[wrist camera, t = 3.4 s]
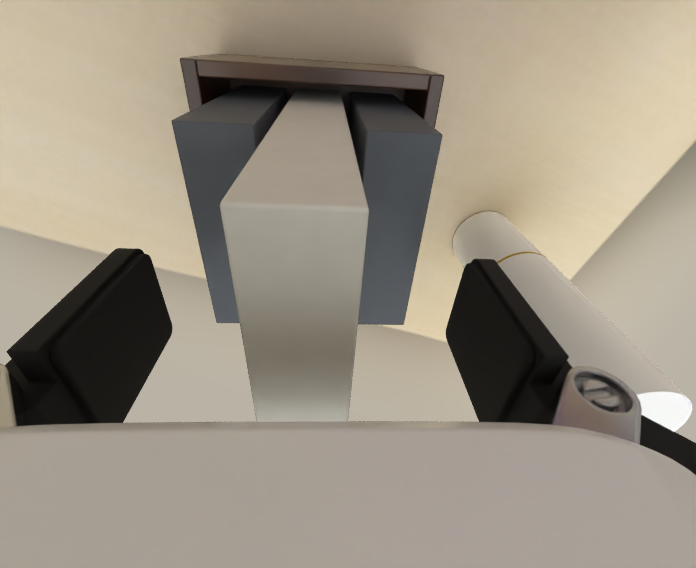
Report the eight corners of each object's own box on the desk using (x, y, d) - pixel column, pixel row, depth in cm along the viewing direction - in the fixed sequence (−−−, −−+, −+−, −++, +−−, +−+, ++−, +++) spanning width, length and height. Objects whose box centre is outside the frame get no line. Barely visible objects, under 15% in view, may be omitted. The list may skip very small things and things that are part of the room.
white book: (299, 223, 23) (262, 463, 10) (296, 88, 18) (217, 202, 5) (335, 225, 23) (344, 461, 10) (340, 90, 18) (369, 207, 5)
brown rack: (242, 235, 24) (222, 280, 19) (217, 53, 18) (179, 57, 13) (391, 239, 25) (405, 284, 20) (416, 67, 18) (445, 75, 14)
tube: (467, 206, 23) (617, 385, 11) (522, 217, 24) (720, 398, 12) (443, 258, 26) (547, 453, 14) (494, 267, 26) (636, 459, 14)
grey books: (256, 222, 23) (216, 323, 15) (241, 84, 18) (170, 120, 10) (377, 226, 23) (404, 325, 15) (393, 94, 19) (443, 134, 11)
